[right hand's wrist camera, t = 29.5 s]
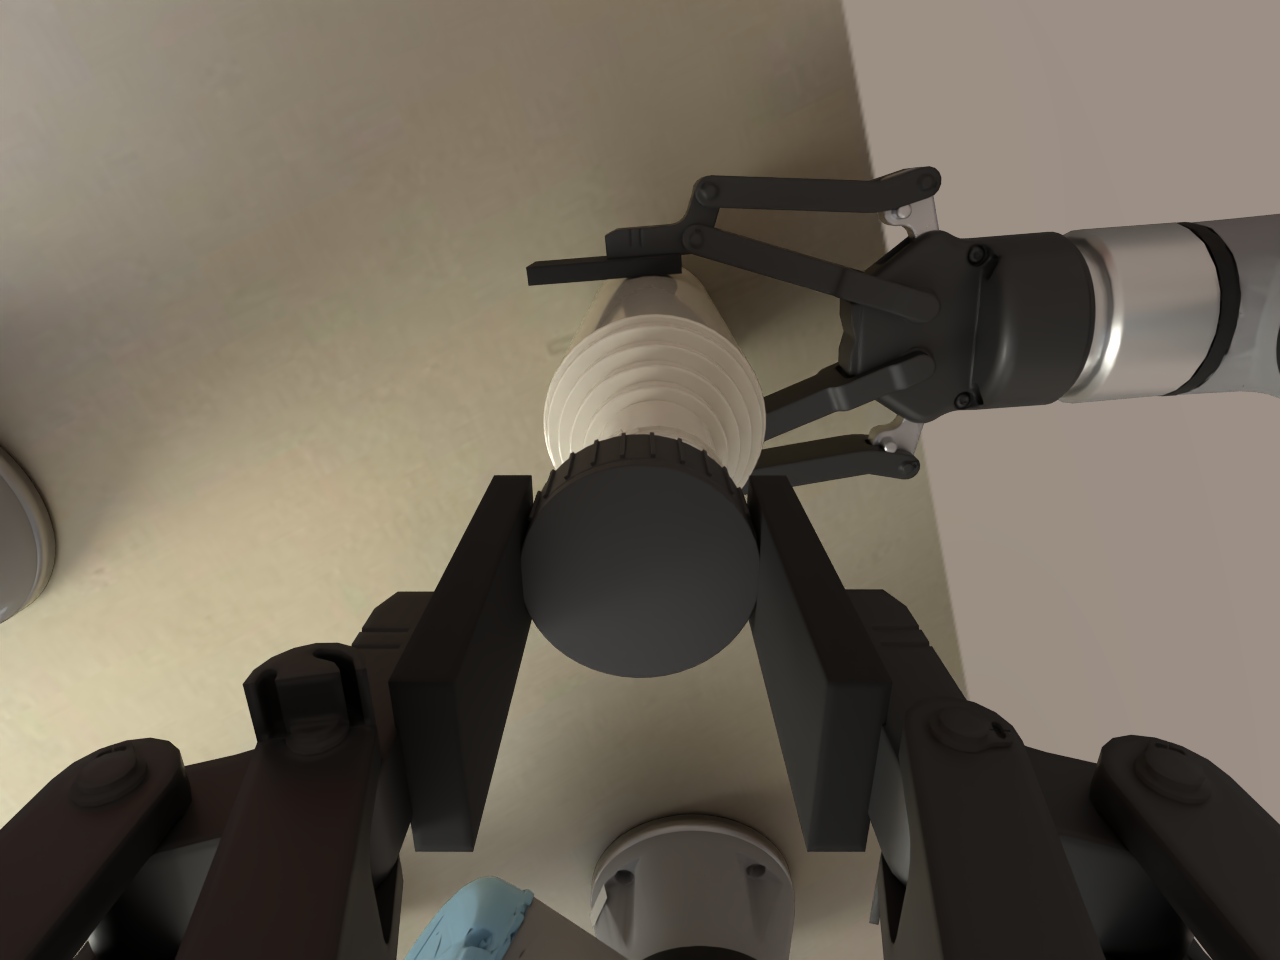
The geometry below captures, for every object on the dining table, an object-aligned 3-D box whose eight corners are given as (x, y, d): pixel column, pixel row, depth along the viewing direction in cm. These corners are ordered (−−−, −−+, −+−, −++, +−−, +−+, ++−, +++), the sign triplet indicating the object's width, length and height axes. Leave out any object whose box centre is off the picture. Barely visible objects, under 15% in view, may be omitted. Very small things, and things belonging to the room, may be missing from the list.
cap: (483, 530, 15) (463, 572, 13) (647, 382, 14) (648, 408, 12) (634, 665, 16) (633, 719, 14) (795, 540, 15) (816, 584, 13)
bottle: (641, 231, 37) (629, 288, 15) (740, 313, 38) (864, 476, 16) (564, 335, 39) (454, 521, 17) (661, 408, 40) (677, 669, 18)
